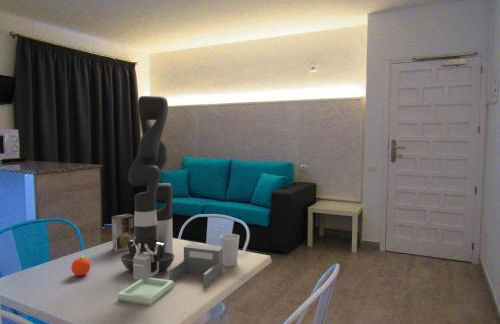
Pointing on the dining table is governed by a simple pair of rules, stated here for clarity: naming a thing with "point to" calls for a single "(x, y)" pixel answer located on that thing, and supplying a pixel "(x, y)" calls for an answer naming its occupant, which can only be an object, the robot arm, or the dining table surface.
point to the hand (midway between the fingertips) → (146, 270)
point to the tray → (146, 291)
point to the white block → (143, 266)
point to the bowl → (163, 262)
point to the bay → (199, 263)
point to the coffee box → (122, 231)
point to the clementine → (81, 266)
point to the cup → (230, 249)
